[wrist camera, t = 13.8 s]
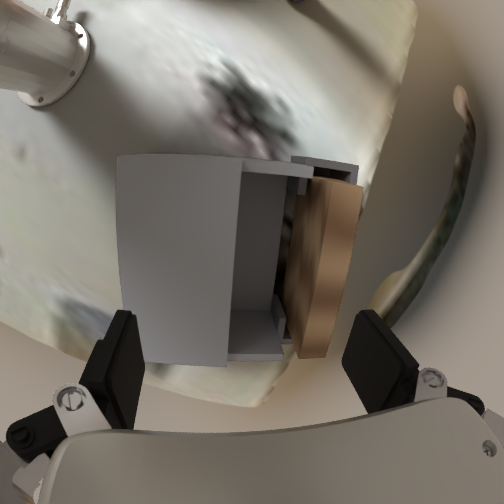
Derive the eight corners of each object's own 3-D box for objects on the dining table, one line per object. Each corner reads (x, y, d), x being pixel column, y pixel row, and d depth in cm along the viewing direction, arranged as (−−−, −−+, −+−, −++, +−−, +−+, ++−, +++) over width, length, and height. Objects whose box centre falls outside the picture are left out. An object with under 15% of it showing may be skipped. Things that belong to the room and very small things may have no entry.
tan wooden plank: (298, 172, 33) (332, 182, 22) (331, 176, 33) (375, 189, 23) (280, 306, 39) (298, 358, 28) (309, 306, 39) (335, 356, 29)
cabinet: (150, 146, 30) (117, 145, 19) (337, 162, 33) (383, 169, 22) (151, 312, 37) (133, 365, 27) (310, 317, 40) (335, 368, 29)
